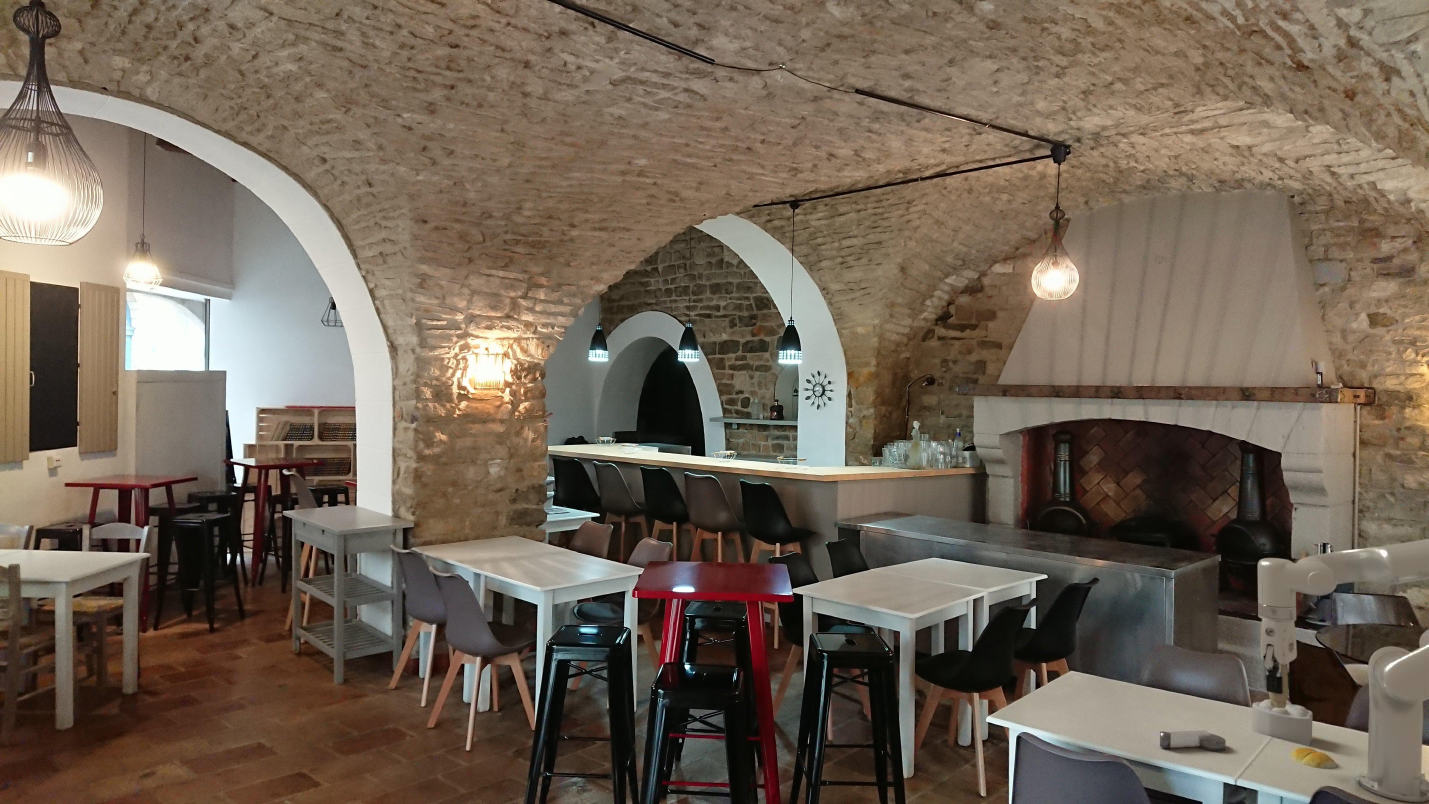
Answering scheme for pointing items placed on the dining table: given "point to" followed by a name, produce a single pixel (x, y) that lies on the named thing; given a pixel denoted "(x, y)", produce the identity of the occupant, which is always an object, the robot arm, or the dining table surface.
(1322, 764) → the bread roll
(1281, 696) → the handle
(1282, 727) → the white egg tray
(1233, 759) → the dining table surface
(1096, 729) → the dining table surface
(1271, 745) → the dining table surface
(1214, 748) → the grey elongated piece
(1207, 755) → the dining table surface
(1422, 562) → the robot arm
